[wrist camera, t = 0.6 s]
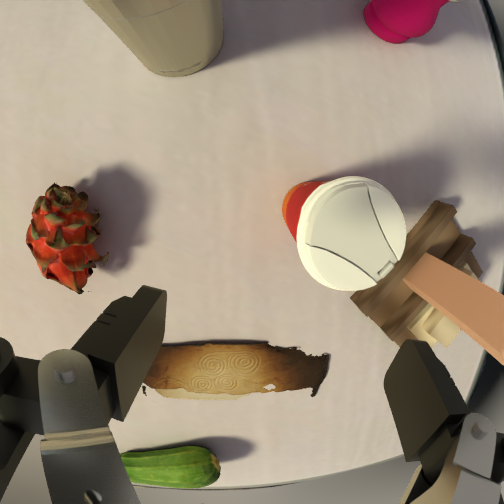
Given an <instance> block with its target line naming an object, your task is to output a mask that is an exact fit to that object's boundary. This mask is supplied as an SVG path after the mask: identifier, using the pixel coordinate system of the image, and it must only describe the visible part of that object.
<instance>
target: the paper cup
mask: <svg viewBox="0 0 504 504" xmlns="http://www.w3.org/2000/svg"><path fill="white" fill-rule="evenodd" d="M282 212H283V217H284V220H285V222H286V224H287V226H288V228H289V230H290V232H291V234H292V236H293V237H294V239H295V241H296V243H297V248H298V252H299V256H300V258H301V261H302V263H303V265H304V267H305V268H306V270H307V271H308V272H309V274H310V275H311V276H312V277H313V278H314V279H315V280H317V281H318V282H319V283H321V284H323V285H324V286H326V287H329V288H332V289H336V290H346V291H358V290H364V289H367V288H370V287H372V286H374V285H376V284H377V283H376V282H378V281H379V280H380V279H381V278H384V277H385V276H386V275H387V274H388V273H389V272H390V271H391V270H392V269H393V268H394V264H395V263H396V262H397V260H398V261H399V260H400V259H401V256H402V254H403V251H404V248H405V242H406V225H405V220H404V216H403V213H402V211H401V209H400V207H399V205H398V204H397V202H396V200H395V199H394V197H393V196H392V194H391V193H390V192H389V191H388V190H387V189H386V188H385V187H384V186H382V185H381V184H380V183H378V182H376V181H374V180H372V179H369V178H365V177H359V176H347V177H342V178H338V179H336V180H333V181H312V182H304V183H301V184H298V185H296V186H294V187H293V188H292V189H291V190H290V191H289V192H288V193H287V195H286V196H285V199H284V201H283V206H282Z"/></svg>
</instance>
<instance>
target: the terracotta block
mask: <svg viewBox="0 0 504 504" xmlns="http://www.w3.org/2000/svg"><path fill="white" fill-rule="evenodd" d="M403 281H404V282H405V283H406V284H407V285H408V287H409V288H410V289H411V290H413V291H414V292H415V293H417V294H418V295H419V296H420V297H422V298H423V299H424V300H426V301H427V302H428V303H429V304H431V305H432V306H433V307H434V308H436V309H437V310H438V311H440V312H441V313H442V314H443V315H445V316H446V317H447V318H448V319H449V320H451V321H452V322H453V323H454V324H456V325H457V326H458V327H459V328H460V329H462V330H463V331H464V332H465V333H466V334H468V335H469V336H470V337H471V338H472V339H474V340H475V341H476V342H477V343H478V344H480V345H481V346H482V347H483V348H484V349H485V350H487V351H488V352H489V353H490V354H491V355H492V356H494V357H495V358H496V359H497V360H498V361H499V362H500V363H501V364H502V365H504V295H502V294H500V293H499V292H497V291H495V290H493V289H492V288H490V287H488V286H487V285H485V284H483V283H481V282H480V281H478V280H476V279H474V278H473V277H471V276H469V275H467V274H465V273H464V272H462V271H460V270H458V269H456V268H454V267H453V266H451V265H449V264H447V263H445V262H443V261H441V260H440V259H438V258H436V257H434V256H432V255H430V254H428V253H426V252H425V253H424V255H423V256H422V257H421V258H420V259H419V261H418V262H417V263H416V264H415V265H414V267H413V268H412V269H411V270H410V271H409V272H408V273H407V275H406V276H405V277H404V278H403Z"/></svg>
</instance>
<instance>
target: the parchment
mask: <svg viewBox="0 0 504 504" xmlns="http://www.w3.org/2000/svg"><path fill="white" fill-rule="evenodd" d="M299 348H301V347H299ZM296 349H297V348H296V347H292V348H291V349H289V348H284V349H282V348H279V347H274V346H271V345H269V344H267V342H266V343H258V344H227V343H225V344H218V343H217V344H216V343H215V344H214V343H209V342H208V343H205V344H203V345H183V346H177V347H174V346H167V347H162V346H161V348H160V350H159V352H158V353H157V355H156V357H155V359H154V361H153V363H152V365H151V367H150V369H149V371H148V373H147V375H146V377H145V379H144V381H143V383H145V384H146V385H147V386H149V387H150V388H154V389H155V390H156V391H157V392H158V393H159V394H161V395H162V396H164V397H166V398H179V399H197V400H237V399H239V398H241V397H243V396H246V395H249V394H251V393H254V392H261V393H266V392H271V391H275V392H282V391H286V390H291V391H292V390H299V389H303V388H305V389H306V388H307V387H308V388H309V387H311V388H313V390H312V392H313V393H312V394H311V396H312V397H314V396H315V395H316V392H317V390H318V388H319V386H320V384H321V383H322V381H323V379H324V378H325V376H326V373H327V366H328V359H329V355H324V354H322V356H319V357H318V356H315V357H314V356H312V354H310V355H308V356H306V354H305V353H304V352H303V351H301V350H300V349H299V350H296ZM268 384H273V385H275V386H276V388H275V389H271V390H270V391H269V390H267V389H265V388H263V387H264V386H266V385H268ZM142 388H143V394H145V395H146V392H145V388H146V387H145V386H142ZM146 396H147V395H146Z"/></svg>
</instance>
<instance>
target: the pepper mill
mask: <svg viewBox="0 0 504 504" xmlns="http://www.w3.org/2000/svg"><path fill="white" fill-rule="evenodd" d="M450 1H452V2H460V1H462V0H372V1H371V2H370V3H369V4H368V5H367V6H366V7H365V10H364V17H365V21H366V23H367V25H368V26H369V28H370V29H371V30H372V32H373V33H374V34H376V35H377V36H378V37H379V38H381V39H383V40H385V41H387V42H390V43H402V42H404V41H406V40H407V39H409V38H411V37H420V36H422V35H424V34H425V33H427V32H428V31H429V30H430V29H431V28H432V27H433V25H434V23H435V21H436V18H437V15H438V12H439V9H440V8H441V7H442V6H443V5H444V4H446V3H447V2H450Z"/></svg>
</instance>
